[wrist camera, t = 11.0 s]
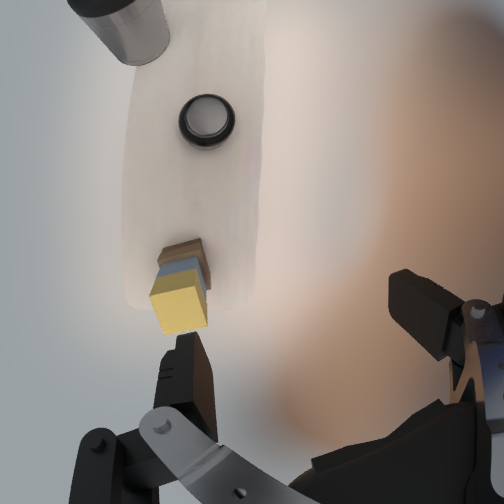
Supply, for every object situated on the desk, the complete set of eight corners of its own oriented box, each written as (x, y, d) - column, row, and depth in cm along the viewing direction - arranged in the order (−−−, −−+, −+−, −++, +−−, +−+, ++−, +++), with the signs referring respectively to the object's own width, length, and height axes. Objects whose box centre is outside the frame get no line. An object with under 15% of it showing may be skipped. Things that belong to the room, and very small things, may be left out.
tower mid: (162, 263, 37) (155, 278, 32) (196, 255, 37) (195, 268, 32) (172, 296, 38) (168, 313, 34) (206, 288, 39) (206, 305, 34)
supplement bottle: (177, 144, 38) (165, 136, 26) (192, 102, 36) (186, 78, 25) (222, 156, 39) (227, 152, 28) (236, 114, 38) (247, 94, 26)
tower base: (163, 247, 42) (157, 260, 36) (200, 238, 42) (199, 249, 37) (174, 282, 44) (170, 299, 38) (210, 273, 44) (210, 289, 39)
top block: (156, 277, 32) (149, 296, 27) (196, 268, 32) (194, 285, 28) (169, 312, 34) (164, 335, 29) (207, 304, 34) (207, 326, 29)
